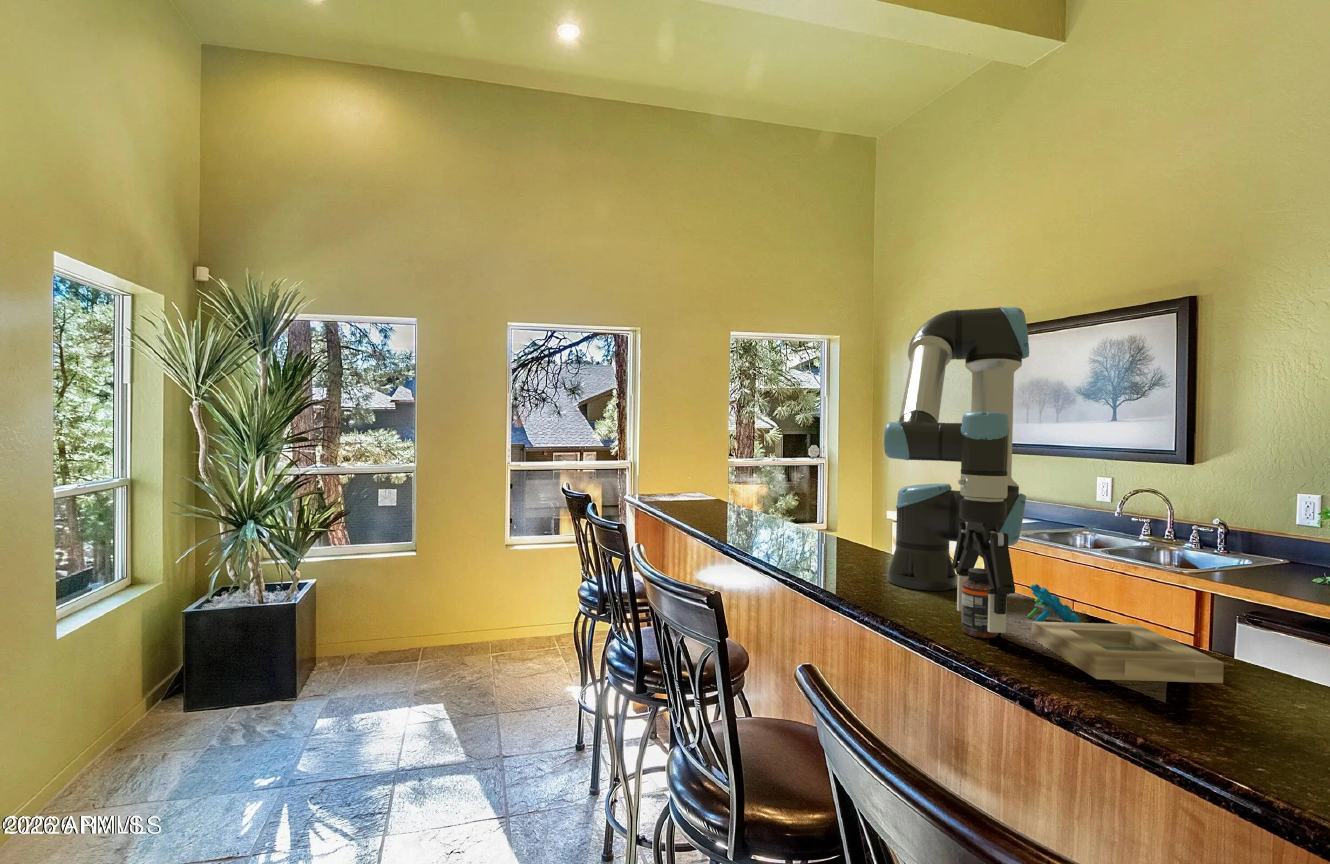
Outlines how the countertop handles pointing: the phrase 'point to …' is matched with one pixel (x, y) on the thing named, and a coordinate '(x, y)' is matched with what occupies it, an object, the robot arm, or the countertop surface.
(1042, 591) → the gear
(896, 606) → the countertop surface
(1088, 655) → the socket holder
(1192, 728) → the countertop surface
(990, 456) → the robot arm
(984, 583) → the supplement bottle
